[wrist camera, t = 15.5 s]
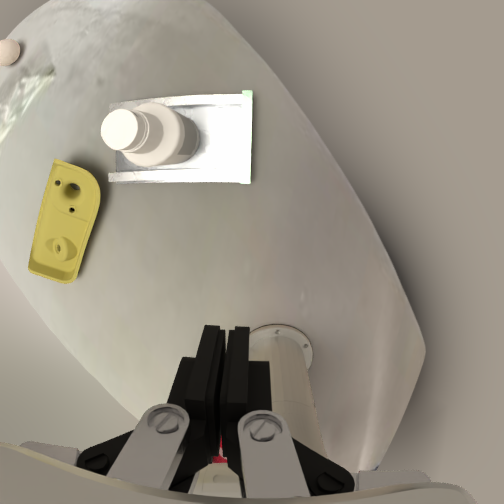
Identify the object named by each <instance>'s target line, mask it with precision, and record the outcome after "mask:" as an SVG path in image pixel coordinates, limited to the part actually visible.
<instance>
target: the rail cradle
mask: <svg viewBox="0 0 504 504" xmlns="http://www.w3.org/2000/svg"><path fill="white" fill-rule="evenodd" d="M150 102H155V103H161V104H164V105H165V106H167V107H169V108H171V109H173V110H175V111H176V112H178V113H180V114H182V115H184V116H185V117H187V118H189V119H191V120H192V121H193V122H194V123H195V125H196V126H197V128H198V131H199V137H200V141H199V145H198V149H197V150H196V152H195V153H194V155H193V156H192V157H191V158H190V159H188V160H187V161H185V162H183V163H180V164H171V165H162V166H153V167H142V166H137V165H135V164H134V163H132V162H130V161H129V160H128V159H127V158H126V157H125V156H124V154H123V153H122V152H121V151H119V150H116V172H113V173H109V182H117V184H128V183H156V182H240V184H250V177H251V139H252V102H253V91H249V90H243V94H221V95H192V96H176V97H163V98H153V99H144V100H135V101H128V102H120V103H114V104H110V108H109V113H111V112H113V111H114V110H117V109H127V110H131V109H134V108H135V107H137V106H139V105H141V104H145V103H150Z"/></svg>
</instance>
